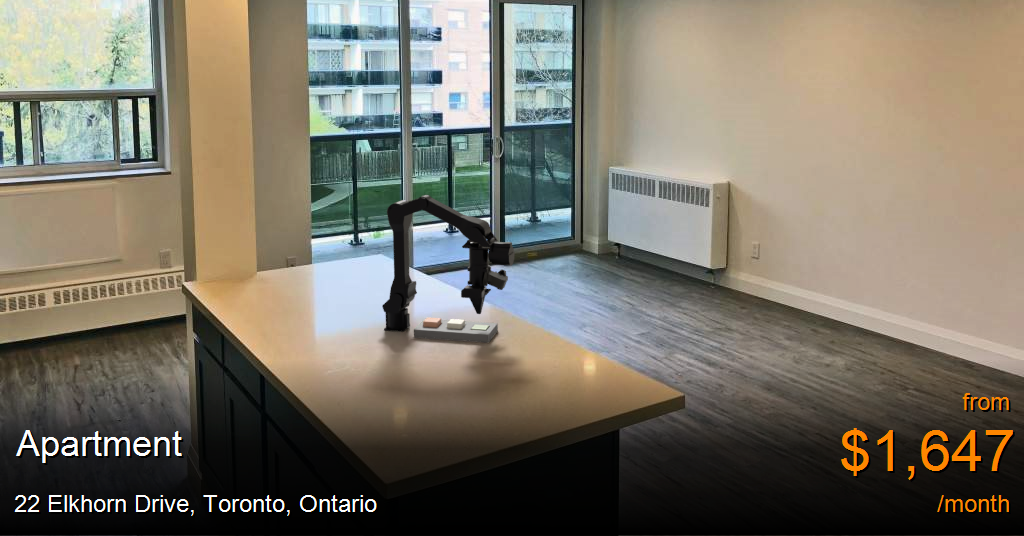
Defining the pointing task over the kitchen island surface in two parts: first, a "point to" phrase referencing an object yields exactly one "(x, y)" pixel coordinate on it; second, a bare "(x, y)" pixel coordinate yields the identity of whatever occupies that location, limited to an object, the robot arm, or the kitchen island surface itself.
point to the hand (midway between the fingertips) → (479, 313)
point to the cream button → (456, 324)
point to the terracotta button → (432, 322)
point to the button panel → (457, 332)
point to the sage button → (480, 327)
